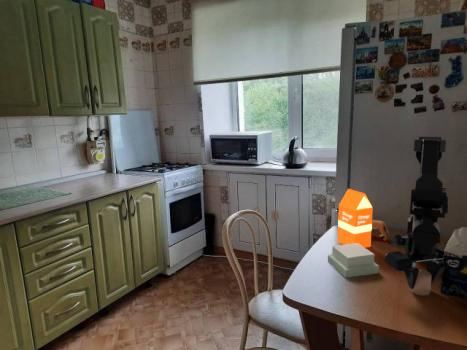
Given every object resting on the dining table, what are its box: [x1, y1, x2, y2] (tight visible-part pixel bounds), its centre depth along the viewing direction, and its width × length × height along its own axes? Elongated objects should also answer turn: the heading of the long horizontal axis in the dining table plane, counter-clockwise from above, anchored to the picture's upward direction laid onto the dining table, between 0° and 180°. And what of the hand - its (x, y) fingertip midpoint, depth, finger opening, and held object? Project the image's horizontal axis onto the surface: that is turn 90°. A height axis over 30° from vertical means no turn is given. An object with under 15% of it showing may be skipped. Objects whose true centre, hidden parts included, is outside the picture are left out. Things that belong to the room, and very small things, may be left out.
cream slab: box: [331, 243, 375, 267], centre depth 106 cm, size 9×9×3 cm
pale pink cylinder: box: [408, 269, 432, 296], centre depth 91 cm, size 5×5×5 cm
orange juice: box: [337, 188, 374, 249], centre depth 121 cm, size 8×9×20 cm
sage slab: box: [327, 253, 380, 279], centre depth 106 cm, size 11×11×3 cm
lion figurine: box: [372, 218, 392, 241], centre depth 129 cm, size 15×5×9 cm, turn 52°
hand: (419, 287), depth 91 cm, fingers closed on pale pink cylinder, 5 cm apart
